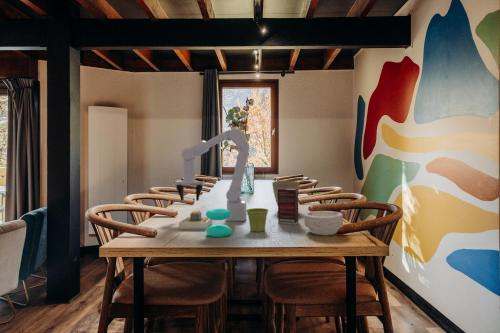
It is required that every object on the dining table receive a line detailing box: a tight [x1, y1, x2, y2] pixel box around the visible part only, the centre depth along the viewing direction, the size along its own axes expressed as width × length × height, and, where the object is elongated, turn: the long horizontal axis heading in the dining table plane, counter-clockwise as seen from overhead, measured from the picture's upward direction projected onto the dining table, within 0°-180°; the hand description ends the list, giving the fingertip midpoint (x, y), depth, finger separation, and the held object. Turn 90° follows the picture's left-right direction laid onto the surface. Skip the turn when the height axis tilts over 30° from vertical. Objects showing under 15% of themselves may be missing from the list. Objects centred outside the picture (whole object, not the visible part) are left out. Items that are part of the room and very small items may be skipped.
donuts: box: [205, 208, 232, 238], centre depth 141 cm, size 10×10×10 cm
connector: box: [189, 210, 202, 221], centre depth 156 cm, size 4×4×6 cm
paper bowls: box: [304, 210, 344, 236], centre depth 142 cm, size 15×15×8 cm
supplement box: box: [277, 188, 300, 225], centre depth 161 cm, size 9×5×16 cm, turn 65°
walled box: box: [178, 216, 213, 231], centre depth 156 cm, size 12×12×3 cm
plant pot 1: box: [246, 207, 269, 233], centre depth 147 cm, size 9×9×9 cm
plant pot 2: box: [271, 180, 301, 206], centre depth 192 cm, size 15×15×16 cm
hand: (189, 200), depth 172 cm, fingers open, 7 cm apart
